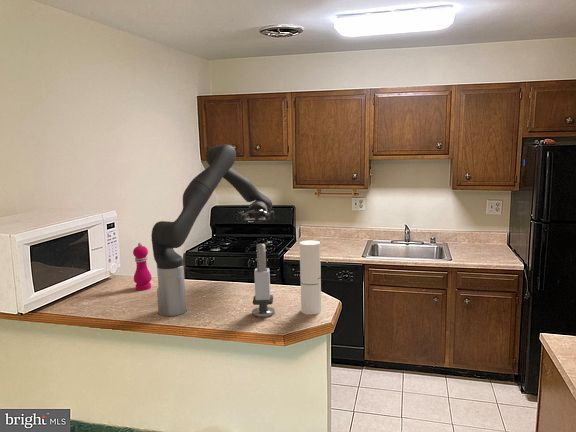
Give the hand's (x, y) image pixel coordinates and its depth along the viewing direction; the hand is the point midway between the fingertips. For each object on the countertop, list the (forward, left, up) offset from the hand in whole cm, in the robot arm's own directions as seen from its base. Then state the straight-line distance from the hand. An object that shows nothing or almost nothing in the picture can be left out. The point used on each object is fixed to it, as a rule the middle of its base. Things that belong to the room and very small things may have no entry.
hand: (255, 217), depth 170 cm
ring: (+3, -16, -27) cm, 31 cm away
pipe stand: (+3, -16, -32) cm, 36 cm away
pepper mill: (-50, +17, -32) cm, 62 cm away
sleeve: (+3, -16, -26) cm, 31 cm away
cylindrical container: (+20, -15, -32) cm, 41 cm away
